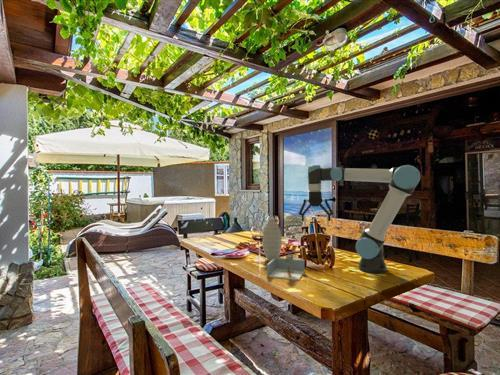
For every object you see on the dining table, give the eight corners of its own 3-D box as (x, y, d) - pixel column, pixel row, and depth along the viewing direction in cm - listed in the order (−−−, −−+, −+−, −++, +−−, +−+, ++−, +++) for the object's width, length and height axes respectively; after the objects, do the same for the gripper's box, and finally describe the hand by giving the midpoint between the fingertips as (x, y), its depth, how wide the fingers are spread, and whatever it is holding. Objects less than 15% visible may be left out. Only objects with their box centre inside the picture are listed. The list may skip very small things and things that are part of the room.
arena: (304, 271, 173) (304, 259, 172) (299, 280, 159) (298, 267, 159) (274, 268, 179) (274, 257, 179) (267, 276, 165) (266, 264, 165)
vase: (277, 256, 207) (276, 216, 206) (285, 261, 195) (284, 218, 194) (260, 258, 203) (259, 217, 202) (267, 263, 191) (266, 219, 190)
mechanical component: (284, 276, 163) (284, 258, 162) (288, 270, 172) (288, 253, 172) (289, 277, 162) (289, 258, 161) (293, 271, 171) (293, 254, 171)
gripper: (336, 190, 177) (338, 225, 178) (295, 191, 185) (296, 225, 186) (336, 190, 170) (337, 227, 170) (293, 191, 178) (294, 227, 179)
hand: (316, 226), depth 178 cm, fingers open, 13 cm apart
